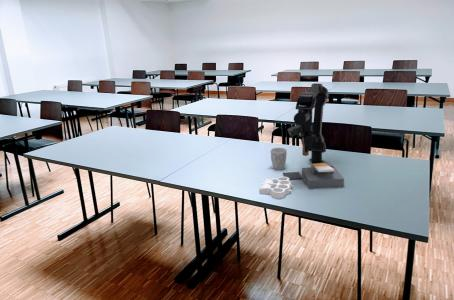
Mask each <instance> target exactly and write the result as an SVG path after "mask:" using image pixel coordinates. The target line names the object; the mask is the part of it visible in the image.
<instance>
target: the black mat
mask: <svg viewBox="0 0 454 300" xmlns="http://www.w3.org/2000/svg"><path fill="white" fill-rule="evenodd" d="M282 175H283V177H288V178H289V179H290V181H292V180H293V181H294V180H295V181H296V180H302V179H303V177H302V175H301V174H300V172H299V171H289V172H282Z"/></svg>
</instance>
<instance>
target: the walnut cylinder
mask: <svg viewBox="0 0 454 300" xmlns="http://www.w3.org/2000/svg"><path fill="white" fill-rule="evenodd" d="M301 153H302V156H304V157H306V156H309V154H310V151H309V150H308V152H305V148H304V142H303V146H302V152H301Z"/></svg>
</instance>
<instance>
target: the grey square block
mask: <svg viewBox="0 0 454 300" xmlns="http://www.w3.org/2000/svg"><path fill="white" fill-rule="evenodd" d="M329 166H330V167H332V168H333V169H334V171H331V172H318V171H317V170H315V167H314V166H313V165H311V164H310V166H309V167H308V166H307V167H301V178H302V179H303V180H304V183H305V184H306V186H307V188H308V189H309V190H310V189H325V188H327V189H328V188H344V187H345V186H344V184H345V178H344V176H342V174H341V173H340V172H339V170H338V169H337V168H336V167H335V166H334V165H333V164H332V163H329Z"/></svg>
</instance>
